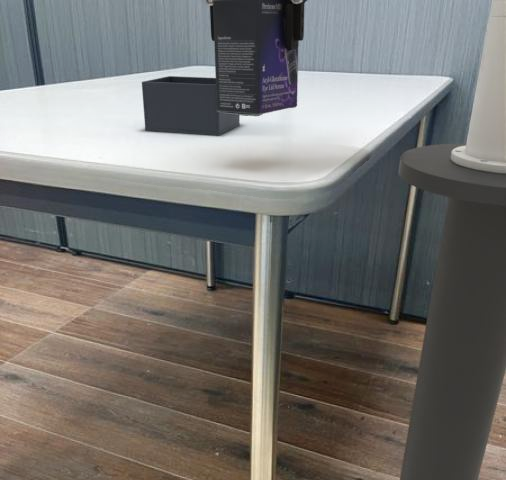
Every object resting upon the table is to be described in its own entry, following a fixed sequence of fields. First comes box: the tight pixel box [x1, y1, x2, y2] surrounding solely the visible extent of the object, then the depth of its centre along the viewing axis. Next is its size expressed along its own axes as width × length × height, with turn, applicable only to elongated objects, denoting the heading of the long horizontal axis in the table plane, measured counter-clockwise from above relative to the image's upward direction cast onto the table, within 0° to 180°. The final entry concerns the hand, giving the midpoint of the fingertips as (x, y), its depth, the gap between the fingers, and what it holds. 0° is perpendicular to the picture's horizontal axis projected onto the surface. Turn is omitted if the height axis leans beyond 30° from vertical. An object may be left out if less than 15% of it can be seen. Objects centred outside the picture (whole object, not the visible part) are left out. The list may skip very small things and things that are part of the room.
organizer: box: [141, 75, 241, 136], centre depth 86 cm, size 11×9×6 cm
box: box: [213, 0, 299, 117], centre depth 61 cm, size 8×6×11 cm
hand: (257, 47), depth 61 cm, fingers closed on box, 6 cm apart
